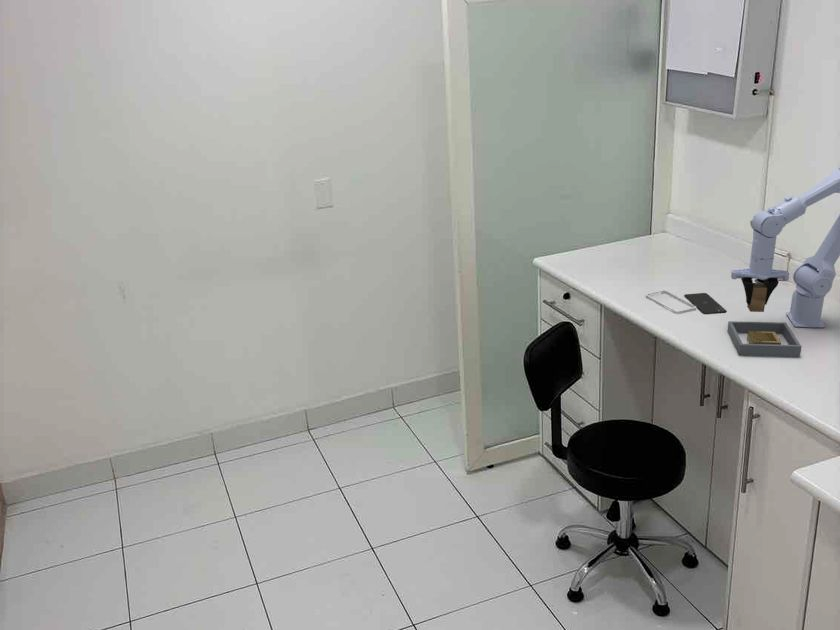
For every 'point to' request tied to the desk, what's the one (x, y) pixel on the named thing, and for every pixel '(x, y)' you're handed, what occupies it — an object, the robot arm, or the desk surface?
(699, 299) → the smartphone
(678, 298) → the phone case
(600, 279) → the desk surface
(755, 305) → the walnut peg
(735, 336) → the walled box
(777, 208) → the robot arm
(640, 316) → the desk surface
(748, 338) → the frame
